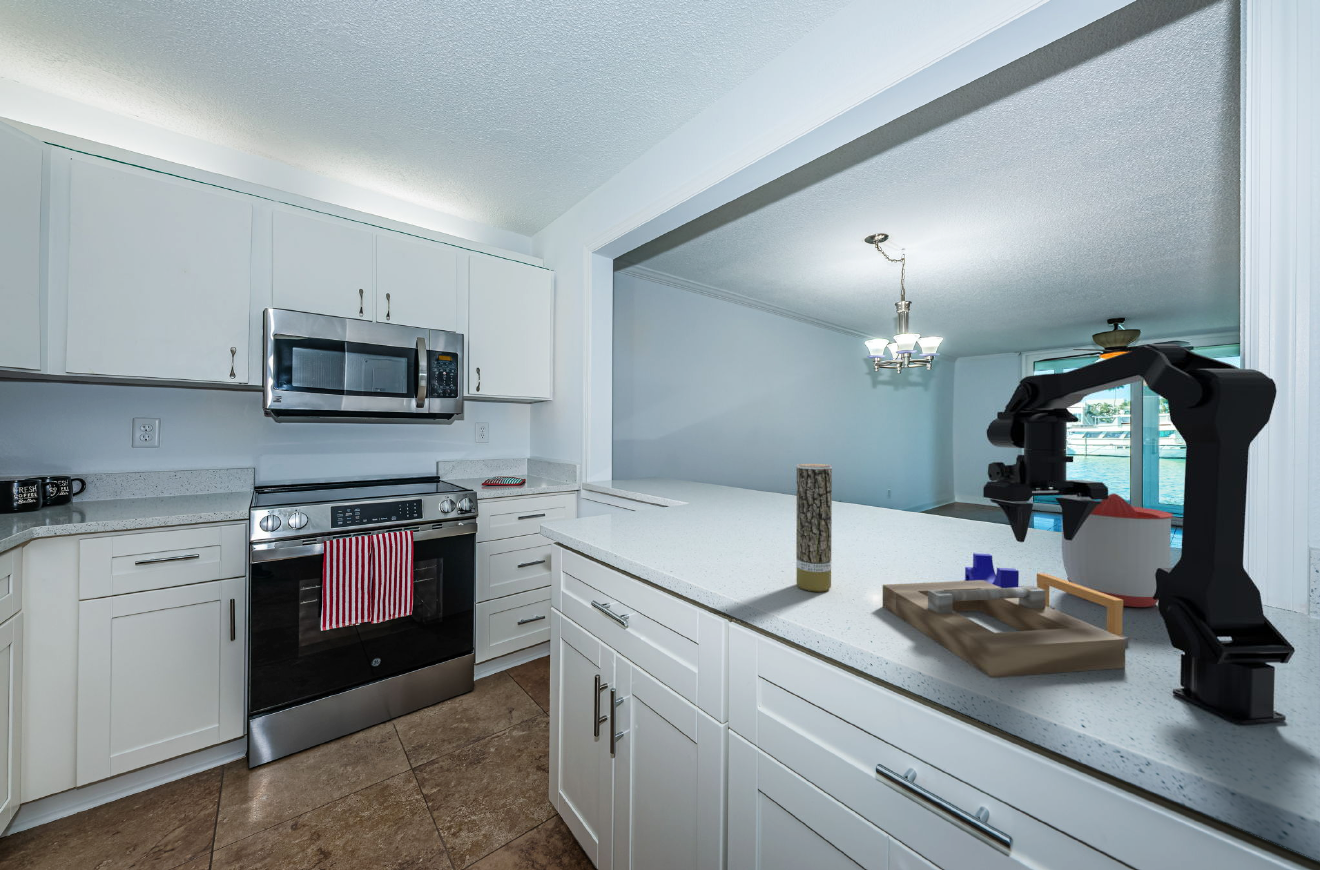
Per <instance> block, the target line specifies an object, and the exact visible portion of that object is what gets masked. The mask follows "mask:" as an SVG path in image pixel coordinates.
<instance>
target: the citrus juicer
mask: <svg viewBox="0 0 1320 870" xmlns="http://www.w3.org/2000/svg"><path fill="white" fill-rule="evenodd" d="M1100 501H1101V502H1102V503H1101V505H1097V506H1096V507H1095V509H1094V510H1093V511H1092V512H1091V514H1090V515H1089V516H1088V517H1087V519H1086V520H1085V522H1084V523H1083V524H1082V526H1081V527H1080V529H1079V530H1078V532H1077V533H1076V535H1075V536H1074V538H1073V539H1072V540H1070V541H1069V540H1065V539H1064V534H1063V523H1062V522H1061V558H1062V561H1063V562H1062V563H1063V567H1064V568H1063V569H1064V570H1065V574H1066V576H1067V581H1069V582H1072V583H1075V584H1077V585H1080V586H1083V587H1086V588H1089V589H1092V590H1095V591H1098V592H1101V593H1104V594H1107V595H1110V596H1113V597H1116V598H1119V599H1122V600H1123V607H1124V606H1125V607H1133V608H1149V607H1153V606H1156V604H1158V600H1154V599H1153V596H1154V594H1155V592H1156V578H1155V574H1156V571H1157V569H1158V568H1171V566H1170V565H1171V539H1172V538H1171V534H1172V530H1171V529H1172V518H1174V515H1173V513H1171V512H1167V511H1164V510H1160V509H1159V510H1158V509H1153V508H1147V507H1139V506H1132V505H1130V503H1128V502H1127V500H1125V499H1124V498H1123V497H1121V496H1120V495H1119V494H1117V493H1110V494H1108V499H1101V500H1100ZM1059 506H1060V505H1059ZM1060 508H1061V506H1060Z"/></svg>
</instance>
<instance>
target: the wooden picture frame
mask: <svg viewBox="0 0 1320 870" xmlns="http://www.w3.org/2000/svg"><path fill="white" fill-rule="evenodd" d="M1045 596H1046V590H1043V589H1040V588H1038V587H1037V586H1035V585H1019V587H1016V588H1001V587H998V586H996V585H994V584H991V583H989V582H986V581H984V580H976V581H966V580H958V581H953V580H952V581H935V582H934V581H933V582H914V583H913V582H912V583H909V582H908V583H892V584H882V607H883V608H884V609H886V610H888V612H890V613H892V614H893V613H894V614H893V615H895V616H896V615H897V616H896V617H897V618H899V617H900V619H901V620H903V621H904V622H906V623H907V622H908V623H907V624H909V625H910V626H912V627H913V628H915V629H916V628H917V629H916V630H918V631H919V630H920V631H919V632H921V631H922V632H923V633H922V632H921V633H922V634H924V635H925V634H926V636H927V637H928V638H930V639H931V640H933V641H935V642H936V643H938V644H939V645H941V646H943V647H944V648H945V649H946V650H949V651H950V652H951V651H952V653H953V654H954V653H955V654H954V655H956V656H957V655H958V656H957V657H959V658H960V659H962V660H964V661H965V660H966V661H965V662H966V663H968V662H969V663H968V664H970V665H971V664H972V665H971V666H972V667H975V668H976V669H977V668H978V670H979V671H980V670H981V671H980V672H982V671H983V672H982V673H983V674H985V673H986V674H987V676H988V675H989V676H988V677H990V678H1002V677H1017V676H1030V675H1031V676H1032V675H1044V674H1059V673H1072V672H1073V673H1074V672H1087V671H1102V670H1113V669H1114V670H1115V669H1117V670H1119V669H1125V668H1126V646H1125V643H1126V639H1124V638H1122V637H1120V636H1117V635H1115V634H1112V633H1110V632H1107V630H1105V629H1102V628H1100V627H1098V626H1096V625H1092V624H1090V623H1088V622H1087V621H1083V620H1081V619H1078V618H1076V617H1074V616H1071V615H1068V614H1067V613H1064V612H1061V611H1058V610H1056V609H1055V610H1054V609H1052V608H1049V607H1047V606H1045ZM976 611H979V612H982V613H983V614H985V615H988V616H990V617H991V618H994V619H996V620H998V621H1000V622H1002V623H1003V624H1006V625H1008V626H1010V627H1012V628H1014V629H1016V630H1018V631H1003V632H994V631H993V630H990V629H989V628H987V627H984V626H983V625H981V624H979V623H977V622H975V621H974V620H972V619H970V618H968V617H967V616H964V615H962V614H961V613H959V612H976ZM986 674H985V675H986Z"/></svg>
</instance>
